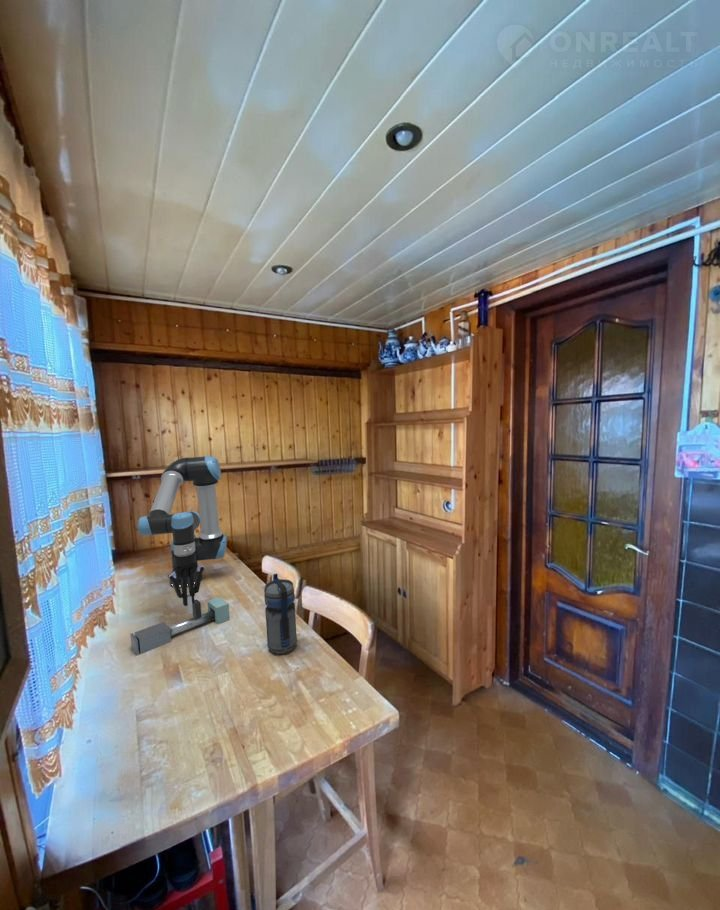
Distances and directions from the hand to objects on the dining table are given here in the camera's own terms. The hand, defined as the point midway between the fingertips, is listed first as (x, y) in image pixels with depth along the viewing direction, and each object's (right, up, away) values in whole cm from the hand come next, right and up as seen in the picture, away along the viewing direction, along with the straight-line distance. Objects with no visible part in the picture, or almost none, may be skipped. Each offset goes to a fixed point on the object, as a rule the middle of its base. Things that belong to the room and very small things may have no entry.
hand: (189, 612), depth 145 cm
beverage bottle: (+39, -7, -15) cm, 43 cm away
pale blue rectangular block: (+8, -6, +8) cm, 13 cm away
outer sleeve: (-9, -8, -9) cm, 15 cm away
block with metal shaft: (-1, -7, -1) cm, 7 cm away
